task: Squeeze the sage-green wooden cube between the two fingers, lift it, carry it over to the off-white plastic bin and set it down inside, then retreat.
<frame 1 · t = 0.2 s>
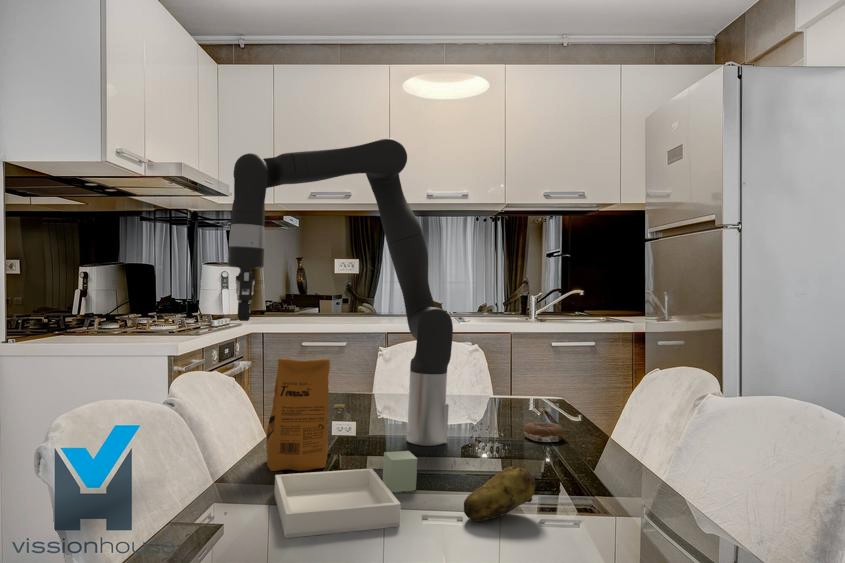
hand: (243, 319, 122), 29 cm above the table, tool pointing down, fingers open, 8 cm apart
bin: (333, 509, 92), on the table
donut: (543, 440, 146), on the table
green cube: (398, 487, 105), on the table
coffee package: (296, 465, 115), on the table
potato: (497, 518, 93), on the table
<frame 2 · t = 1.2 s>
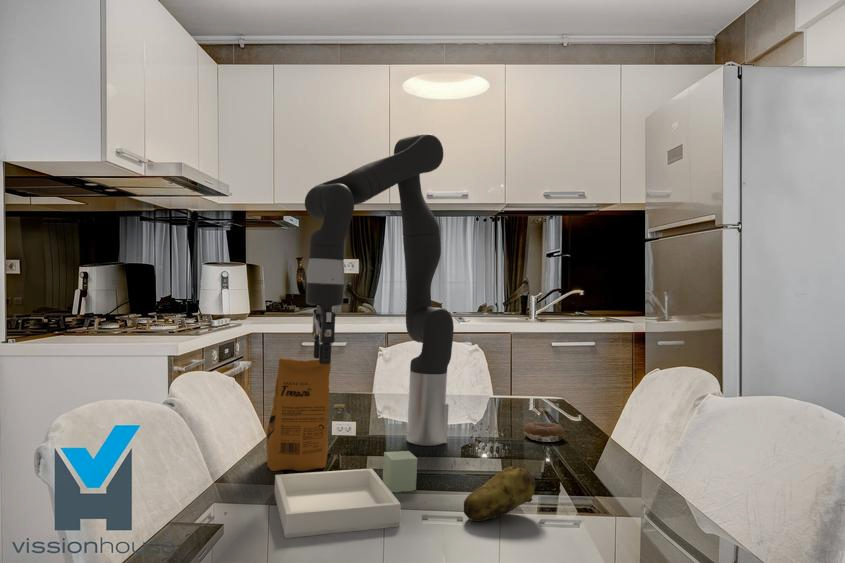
hand: (321, 360, 114), 22 cm above the table, tool pointing down, fingers open, 8 cm apart
coffee package: (296, 465, 115), on the table, touching gripper
everything else where it was.
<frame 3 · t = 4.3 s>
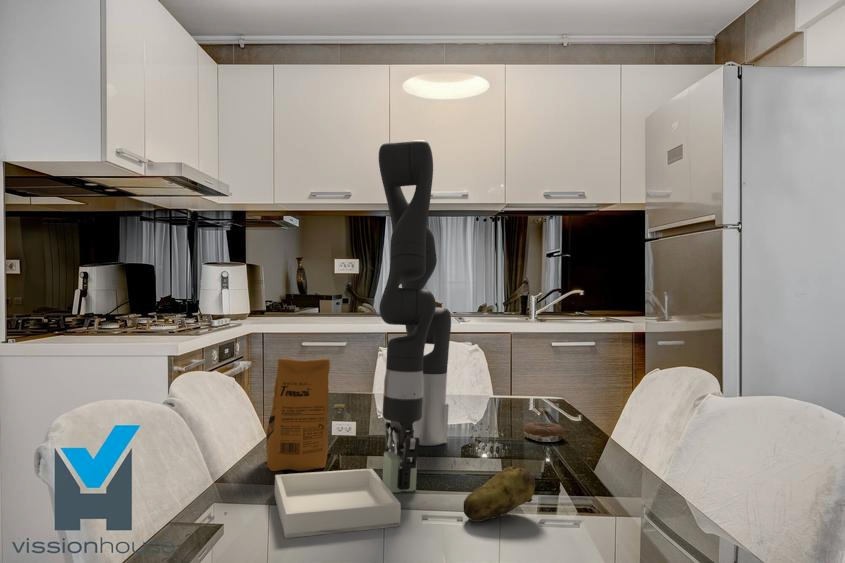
hand: (398, 483, 105), 1 cm above the table, tool pointing down, fingers closed on green cube, 5 cm apart
green cube: (398, 487, 105), on the table, touching gripper
coffee package: (295, 465, 115), on the table
everything else where it was.
when the fingers open (3 cm above the table, at t = 8.8 s): green cube drops 2 cm, resting on bin.
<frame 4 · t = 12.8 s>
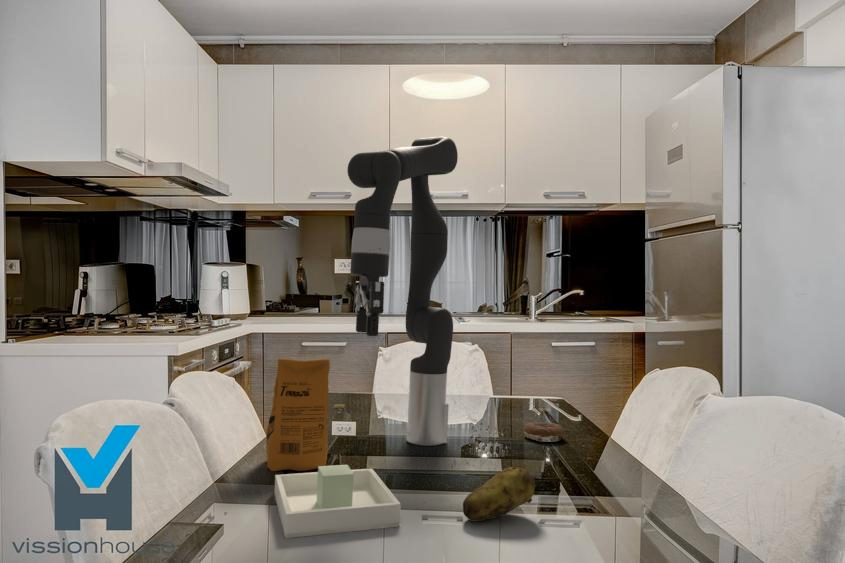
hand: (366, 334, 110), 28 cm above the table, tool pointing down, fingers open, 8 cm apart
green cube: (333, 506, 92), point 1 cm above the table, touching bin
everything else where it was.
at the end: green cube inside the target area on the bin (0.1 cm from its centre), point 0.6 cm above the bin's base; the gripper is holding nothing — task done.
